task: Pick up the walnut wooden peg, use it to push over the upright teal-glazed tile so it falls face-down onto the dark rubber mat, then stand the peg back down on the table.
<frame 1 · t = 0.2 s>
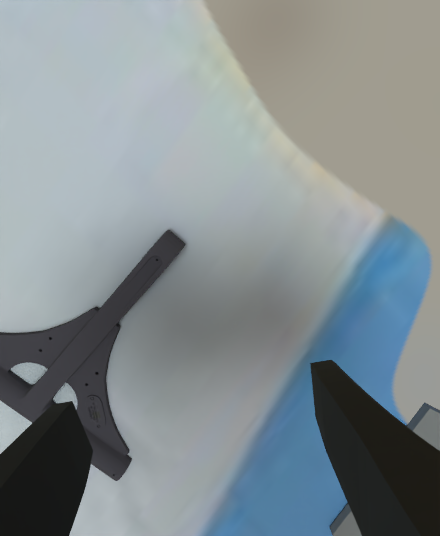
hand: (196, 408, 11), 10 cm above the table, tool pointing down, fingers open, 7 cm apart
bracket: (103, 324, 22), on the table
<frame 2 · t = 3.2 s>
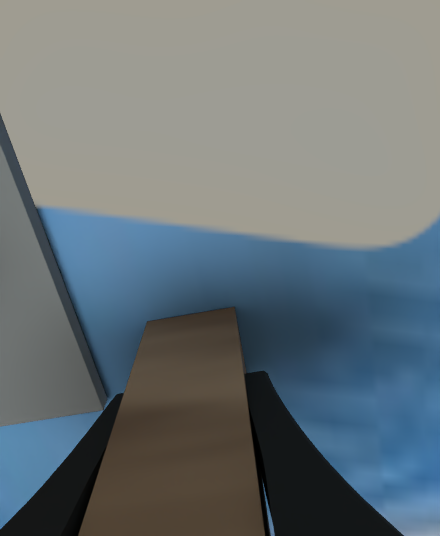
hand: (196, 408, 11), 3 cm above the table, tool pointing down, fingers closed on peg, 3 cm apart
peg: (199, 350, 13), on the table, touching gripper
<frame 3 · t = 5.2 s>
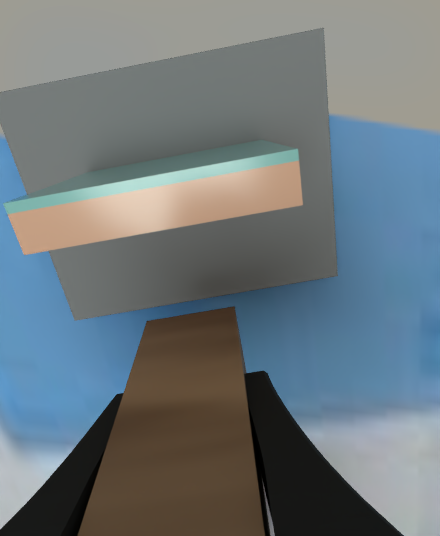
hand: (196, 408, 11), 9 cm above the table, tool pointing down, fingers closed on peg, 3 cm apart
mat: (182, 192, 17), on the table
peg: (199, 350, 13), point 6 cm above the table, touching gripper
tile: (177, 173, 16), point 1 cm above the table, touching mat
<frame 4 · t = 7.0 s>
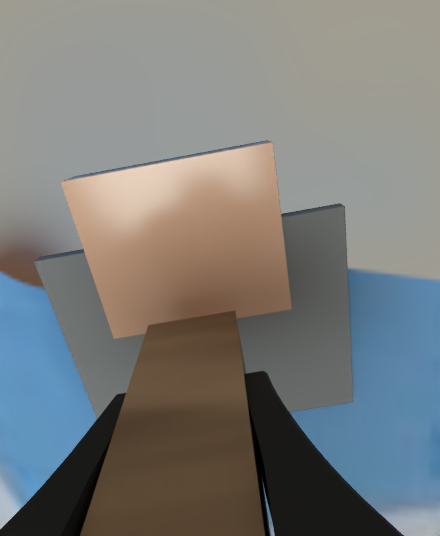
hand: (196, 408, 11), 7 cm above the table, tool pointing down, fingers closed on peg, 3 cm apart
mat: (209, 332, 18), on the table
peg: (200, 354, 13), point 5 cm above the table, touching gripper
tile: (202, 315, 16), point 1 cm above the table, tilted 90°, touching mat
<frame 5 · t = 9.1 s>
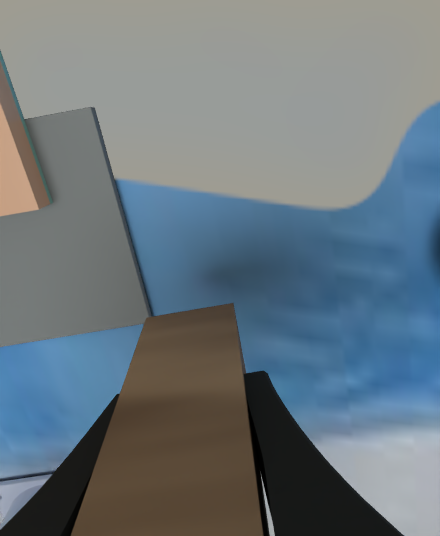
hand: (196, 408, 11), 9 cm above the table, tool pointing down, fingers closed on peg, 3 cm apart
peg: (198, 347, 13), point 6 cm above the table, touching gripper
when the fingers open (4 cm above the table, at t = 10.7 s): peg drops 1 cm, on the table.
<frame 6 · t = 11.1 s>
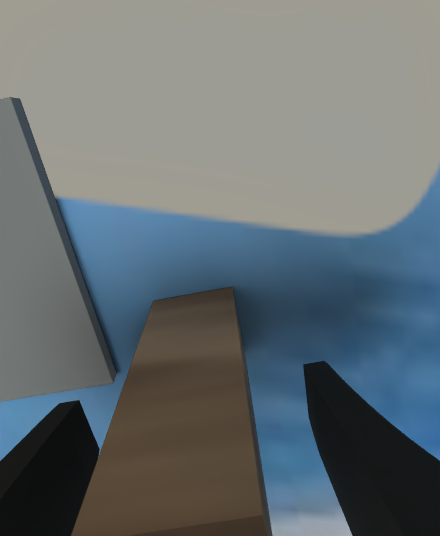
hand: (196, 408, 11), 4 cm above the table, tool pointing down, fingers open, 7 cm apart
peg: (200, 328, 15), on the table
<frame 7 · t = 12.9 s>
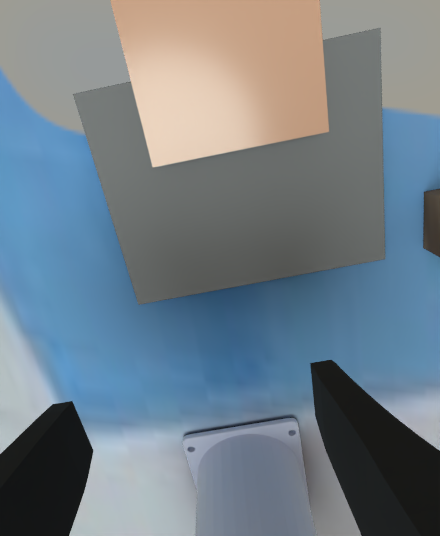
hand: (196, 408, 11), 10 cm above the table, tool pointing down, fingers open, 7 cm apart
mat: (242, 182, 18), on the table
tile: (238, 148, 17), point 1 cm above the table, tilted 90°, touching mat
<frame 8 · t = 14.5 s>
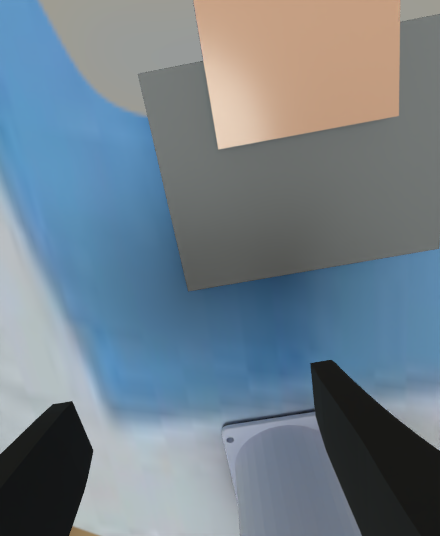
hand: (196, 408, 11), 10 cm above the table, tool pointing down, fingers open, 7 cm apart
mat: (300, 168, 18), on the table
tile: (303, 132, 16), point 1 cm above the table, tilted 90°, touching mat
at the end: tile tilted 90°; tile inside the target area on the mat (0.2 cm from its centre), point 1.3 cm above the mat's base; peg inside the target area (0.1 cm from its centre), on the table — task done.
